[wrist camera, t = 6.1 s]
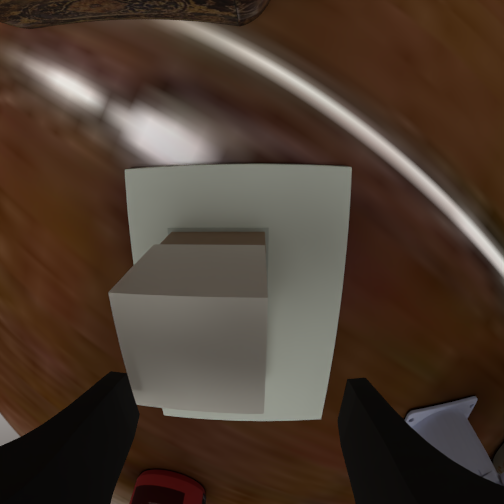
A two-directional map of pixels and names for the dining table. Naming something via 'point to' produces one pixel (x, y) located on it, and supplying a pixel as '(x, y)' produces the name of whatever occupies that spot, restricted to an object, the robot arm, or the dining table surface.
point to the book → (127, 11)
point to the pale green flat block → (277, 258)
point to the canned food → (167, 489)
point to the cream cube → (195, 327)
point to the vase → (499, 460)
